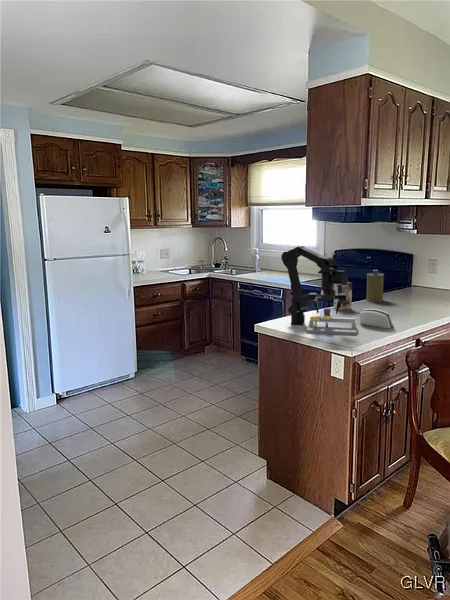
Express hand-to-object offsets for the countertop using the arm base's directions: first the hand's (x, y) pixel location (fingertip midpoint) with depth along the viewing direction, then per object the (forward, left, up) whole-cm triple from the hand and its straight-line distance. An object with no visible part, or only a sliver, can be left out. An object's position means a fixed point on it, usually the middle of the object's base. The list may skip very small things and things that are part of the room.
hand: (327, 313), depth 227 cm
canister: (+24, +77, -9) cm, 82 cm away
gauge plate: (+3, -1, -8) cm, 9 cm away
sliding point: (0, 0, -6) cm, 6 cm away
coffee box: (+5, +51, -9) cm, 52 cm away
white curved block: (+23, +13, -9) cm, 28 cm away
